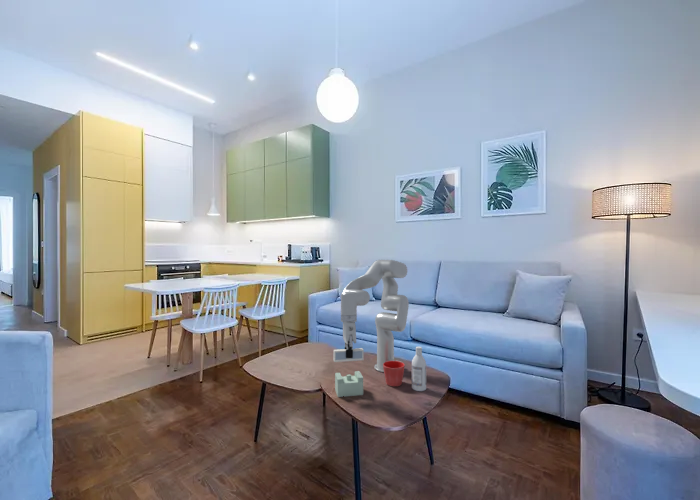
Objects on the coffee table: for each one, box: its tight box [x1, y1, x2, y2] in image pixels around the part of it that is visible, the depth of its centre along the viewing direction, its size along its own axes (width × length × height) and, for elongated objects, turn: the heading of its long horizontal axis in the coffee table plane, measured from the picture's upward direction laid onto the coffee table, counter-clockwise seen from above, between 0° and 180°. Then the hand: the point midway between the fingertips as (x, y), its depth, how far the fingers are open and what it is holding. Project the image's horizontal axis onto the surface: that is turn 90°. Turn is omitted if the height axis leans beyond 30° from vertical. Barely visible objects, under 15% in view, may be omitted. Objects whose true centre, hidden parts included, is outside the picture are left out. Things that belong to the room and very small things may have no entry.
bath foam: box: [411, 346, 427, 392], centre depth 153 cm, size 7×7×20 cm
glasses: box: [333, 347, 365, 363], centre depth 149 cm, size 14×3×5 cm, turn 101°
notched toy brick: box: [334, 370, 364, 398], centre depth 149 cm, size 12×8×8 cm, turn 101°
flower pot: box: [383, 360, 406, 387], centre depth 159 cm, size 11×11×10 cm
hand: (348, 356), depth 149 cm, fingers closed on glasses, 2 cm apart
